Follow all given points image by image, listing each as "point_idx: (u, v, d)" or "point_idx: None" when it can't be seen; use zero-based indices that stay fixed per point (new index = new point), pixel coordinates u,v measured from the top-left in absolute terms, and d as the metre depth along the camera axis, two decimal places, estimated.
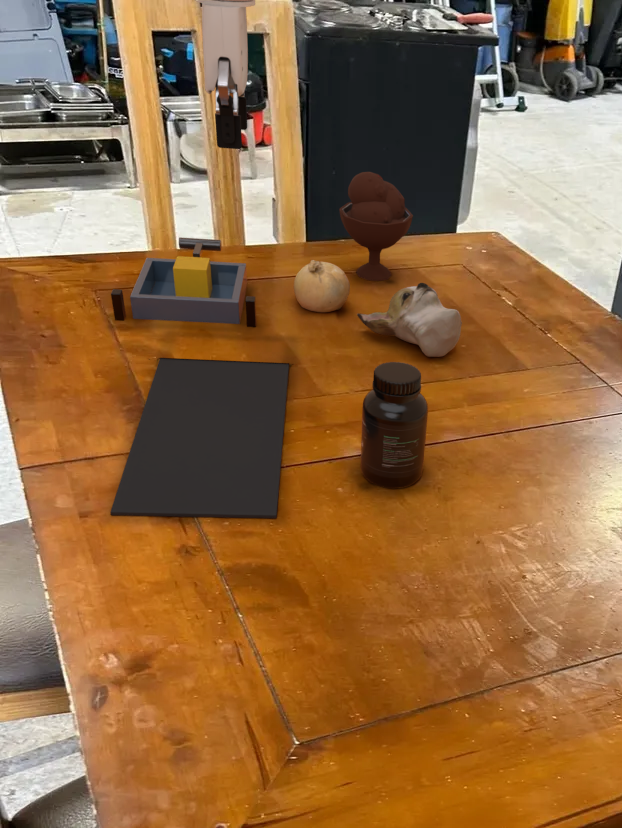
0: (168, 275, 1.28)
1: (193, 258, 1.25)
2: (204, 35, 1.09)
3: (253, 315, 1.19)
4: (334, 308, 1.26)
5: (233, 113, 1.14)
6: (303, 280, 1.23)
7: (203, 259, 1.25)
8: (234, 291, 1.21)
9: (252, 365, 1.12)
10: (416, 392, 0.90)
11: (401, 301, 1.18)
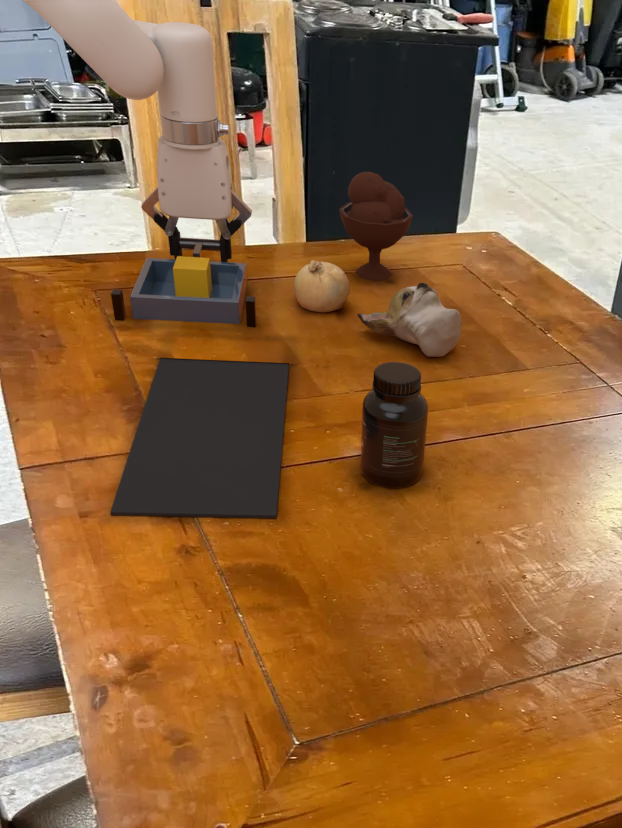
0: (168, 275, 1.28)
1: (193, 258, 1.25)
2: None
3: (253, 315, 1.19)
4: (334, 308, 1.26)
5: (165, 231, 1.29)
6: (303, 280, 1.23)
7: (203, 259, 1.25)
8: (234, 291, 1.21)
9: (252, 365, 1.12)
10: (416, 392, 0.90)
11: (401, 301, 1.18)
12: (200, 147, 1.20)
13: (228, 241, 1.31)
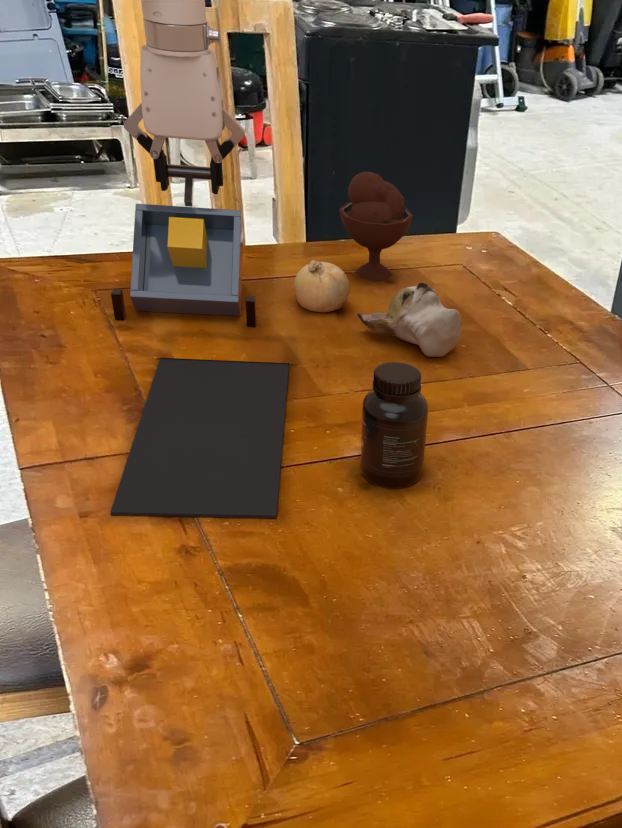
0: (160, 220, 1.22)
1: (186, 221, 1.18)
2: None
3: (253, 315, 1.19)
4: (334, 308, 1.26)
5: (150, 153, 1.18)
6: (303, 280, 1.23)
7: (197, 223, 1.19)
8: (233, 278, 1.19)
9: (252, 365, 1.12)
10: (416, 392, 0.90)
11: (401, 301, 1.18)
12: (187, 54, 1.09)
13: (219, 165, 1.20)
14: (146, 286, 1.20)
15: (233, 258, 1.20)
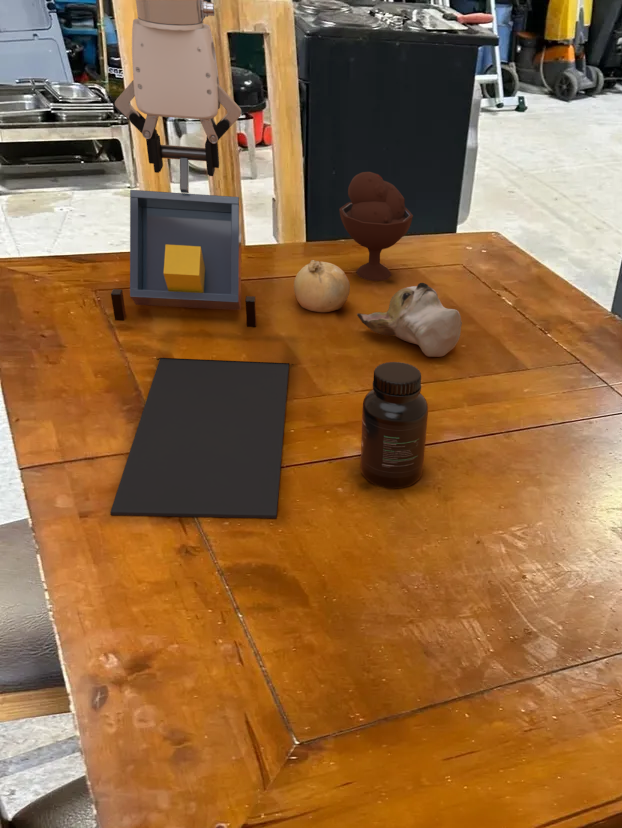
0: (156, 205, 1.19)
1: (182, 277, 1.15)
2: None
3: (253, 315, 1.19)
4: (334, 308, 1.26)
5: None
6: (303, 280, 1.23)
7: (193, 278, 1.16)
8: (232, 275, 1.18)
9: (252, 365, 1.12)
10: (416, 392, 0.90)
11: (401, 301, 1.18)
12: (181, 28, 1.04)
13: (215, 146, 1.15)
14: (145, 278, 1.20)
15: (232, 252, 1.18)
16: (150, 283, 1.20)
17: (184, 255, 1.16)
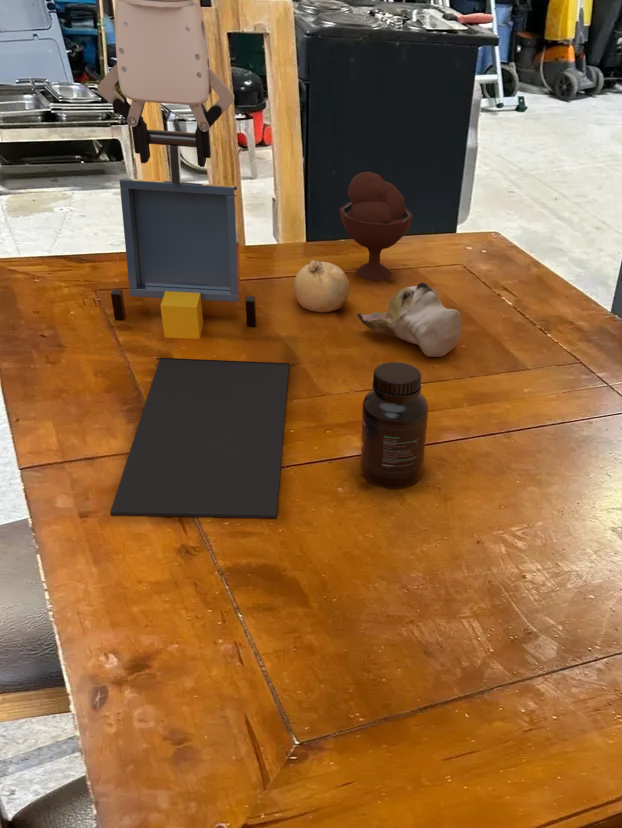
0: None
1: None
2: None
3: (253, 315, 1.19)
4: (334, 308, 1.26)
5: None
6: (303, 280, 1.23)
7: None
8: (231, 274, 1.17)
9: (252, 365, 1.12)
10: (416, 392, 0.90)
11: (401, 301, 1.18)
12: (168, 4, 0.96)
13: (206, 134, 1.07)
14: (142, 266, 1.18)
15: (229, 249, 1.15)
16: (148, 272, 1.18)
17: None
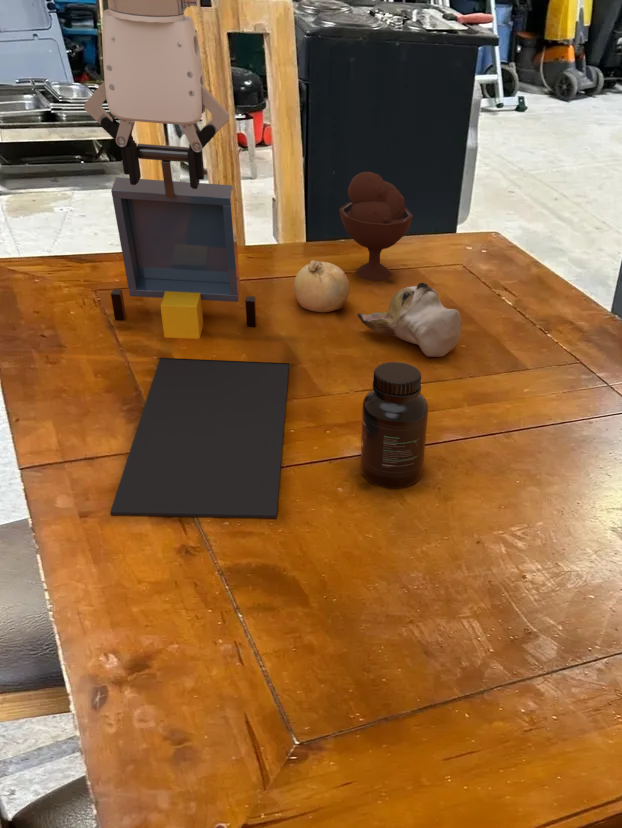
0: None
1: None
2: None
3: (253, 315, 1.19)
4: (334, 308, 1.26)
5: None
6: (303, 280, 1.23)
7: None
8: (230, 277, 1.16)
9: (252, 365, 1.12)
10: (416, 392, 0.90)
11: (401, 301, 1.18)
12: (158, 20, 0.90)
13: (199, 155, 1.01)
14: (140, 261, 1.16)
15: (228, 255, 1.14)
16: (145, 265, 1.17)
17: None
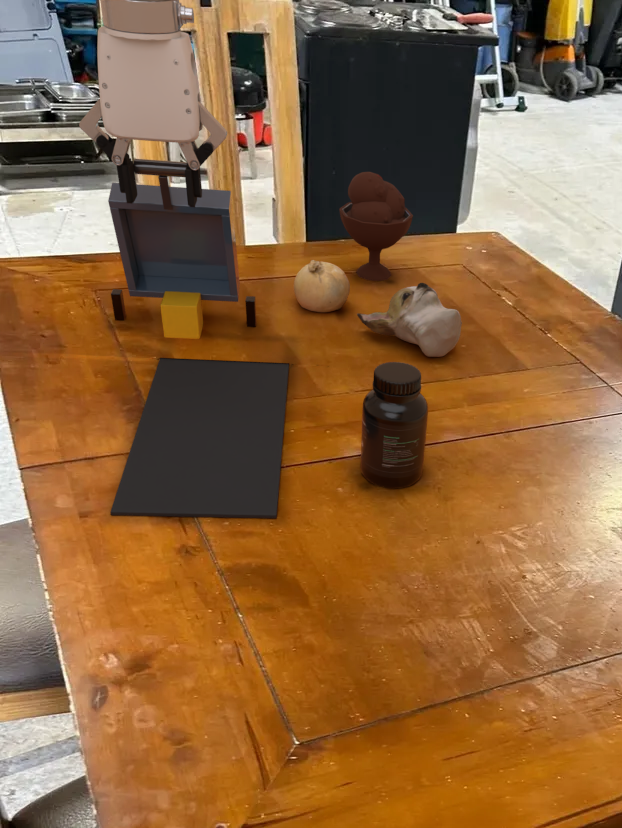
0: None
1: None
2: None
3: (253, 315, 1.19)
4: (334, 308, 1.26)
5: (112, 159, 0.98)
6: (303, 280, 1.23)
7: None
8: (229, 280, 1.15)
9: (252, 365, 1.12)
10: (416, 392, 0.90)
11: (401, 301, 1.18)
12: (154, 37, 0.88)
13: (196, 173, 0.99)
14: (138, 260, 1.15)
15: (227, 260, 1.13)
16: (144, 264, 1.16)
17: None
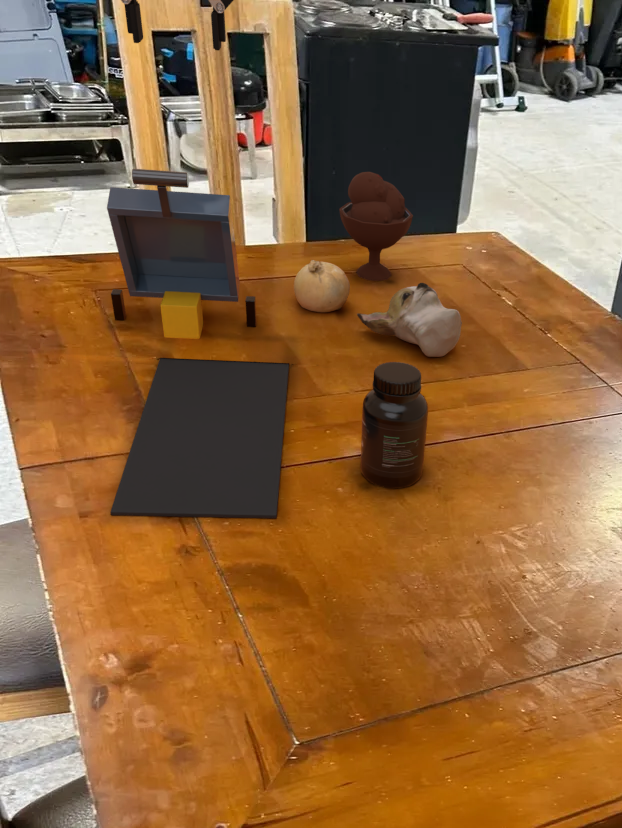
0: None
1: None
2: None
3: (253, 315, 1.19)
4: (334, 308, 1.26)
5: None
6: (303, 280, 1.23)
7: None
8: (229, 281, 1.15)
9: (252, 365, 1.12)
10: (416, 392, 0.90)
11: (401, 301, 1.18)
12: None
13: (221, 16, 1.09)
14: (138, 260, 1.15)
15: (227, 263, 1.13)
16: (144, 264, 1.16)
17: None
